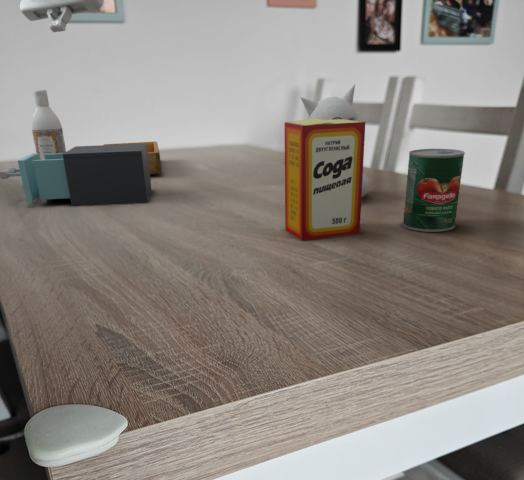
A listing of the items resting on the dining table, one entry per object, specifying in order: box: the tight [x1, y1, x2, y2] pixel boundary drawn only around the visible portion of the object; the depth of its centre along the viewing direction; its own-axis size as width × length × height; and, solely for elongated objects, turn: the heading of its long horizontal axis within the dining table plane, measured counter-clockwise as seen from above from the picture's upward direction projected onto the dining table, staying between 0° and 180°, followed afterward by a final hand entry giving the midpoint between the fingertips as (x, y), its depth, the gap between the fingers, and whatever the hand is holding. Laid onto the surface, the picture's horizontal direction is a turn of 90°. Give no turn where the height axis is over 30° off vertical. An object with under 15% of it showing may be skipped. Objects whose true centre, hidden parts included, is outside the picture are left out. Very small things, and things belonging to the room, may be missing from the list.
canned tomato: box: [402, 148, 466, 233], centre depth 84 cm, size 8×8×11 cm
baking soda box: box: [284, 118, 366, 241], centre depth 81 cm, size 10×6×16 cm
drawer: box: [0, 152, 70, 204], centre depth 111 cm, size 18×11×8 cm, turn 96°
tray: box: [103, 141, 163, 175], centre depth 147 cm, size 31×15×6 cm, turn 11°
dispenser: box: [63, 144, 152, 207], centre depth 112 cm, size 15×13×10 cm
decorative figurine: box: [300, 83, 371, 198], centre depth 103 cm, size 15×15×20 cm
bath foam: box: [31, 89, 67, 160], centre depth 134 cm, size 7×7×20 cm
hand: (57, 30), depth 124 cm, fingers closed
